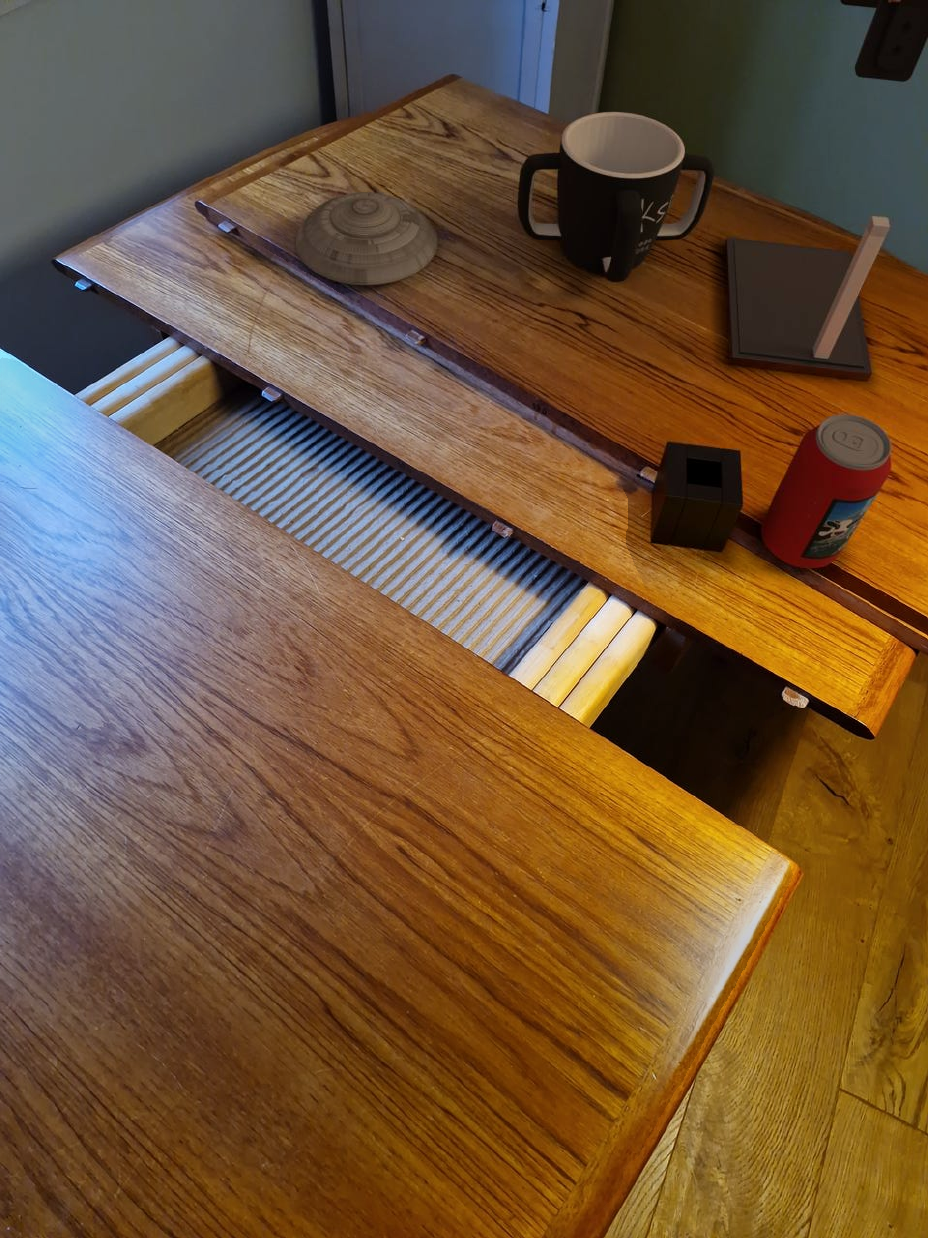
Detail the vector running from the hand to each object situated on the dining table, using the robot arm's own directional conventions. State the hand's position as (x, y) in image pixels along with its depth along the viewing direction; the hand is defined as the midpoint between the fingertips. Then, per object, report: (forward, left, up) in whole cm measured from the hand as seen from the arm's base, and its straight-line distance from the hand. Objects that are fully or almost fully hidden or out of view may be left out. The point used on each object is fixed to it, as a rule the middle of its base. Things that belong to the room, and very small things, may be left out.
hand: (871, 38), depth 55 cm
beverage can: (-6, +12, -33) cm, 36 cm away
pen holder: (+3, +11, -33) cm, 35 cm away
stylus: (-9, -11, -32) cm, 35 cm away
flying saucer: (+37, -21, -33) cm, 54 cm away
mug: (+12, -26, -33) cm, 44 cm away
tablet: (-8, -20, -33) cm, 39 cm away
